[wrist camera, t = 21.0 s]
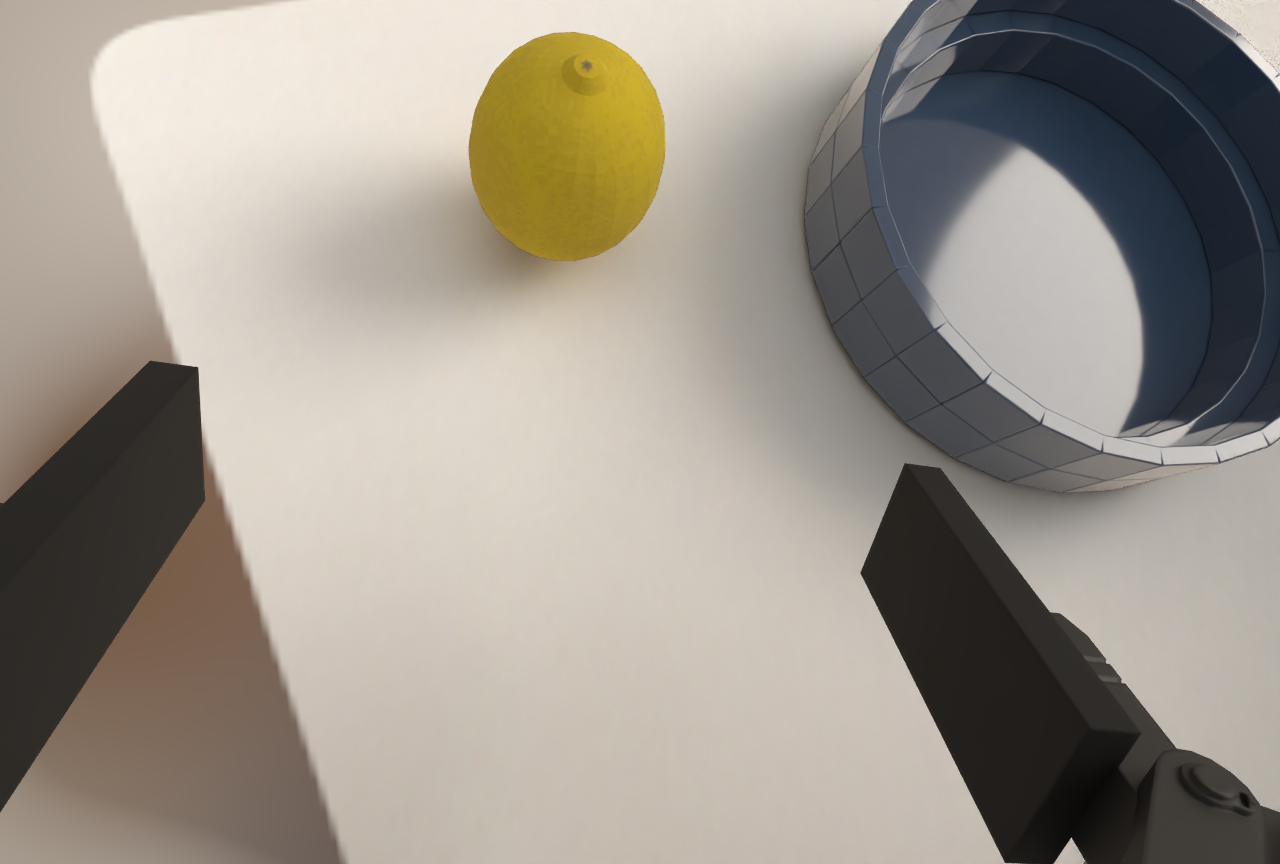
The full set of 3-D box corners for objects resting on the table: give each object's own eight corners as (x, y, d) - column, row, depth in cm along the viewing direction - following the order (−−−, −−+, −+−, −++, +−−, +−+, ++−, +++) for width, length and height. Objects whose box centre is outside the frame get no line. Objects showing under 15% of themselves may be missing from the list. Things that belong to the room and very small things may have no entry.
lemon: (453, 155, 28) (453, -30, 20) (614, 143, 29) (670, -34, 22) (483, 310, 27) (495, 175, 19) (648, 289, 28) (720, 156, 21)
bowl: (1063, -9, 36) (1151, -106, 31) (1317, 359, 34) (1452, 313, 29) (708, 136, 30) (754, 45, 26) (987, 590, 28) (1090, 578, 23)
